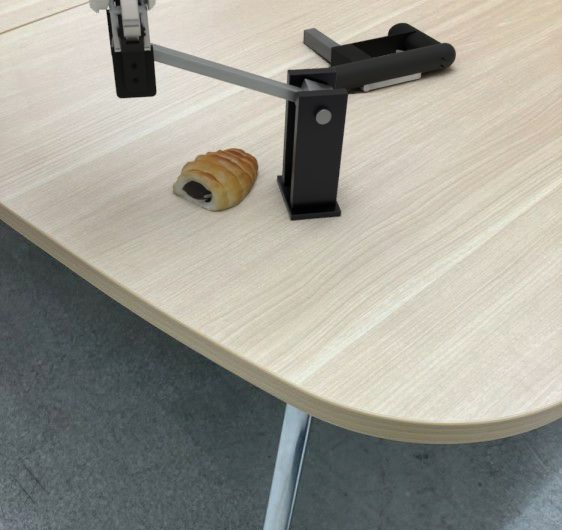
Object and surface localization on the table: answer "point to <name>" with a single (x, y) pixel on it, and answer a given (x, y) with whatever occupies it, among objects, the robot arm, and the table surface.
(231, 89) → the table surface
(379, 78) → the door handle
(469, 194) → the table surface
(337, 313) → the table surface
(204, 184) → the pastry
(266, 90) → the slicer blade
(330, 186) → the black lever stand
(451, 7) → the table surface
